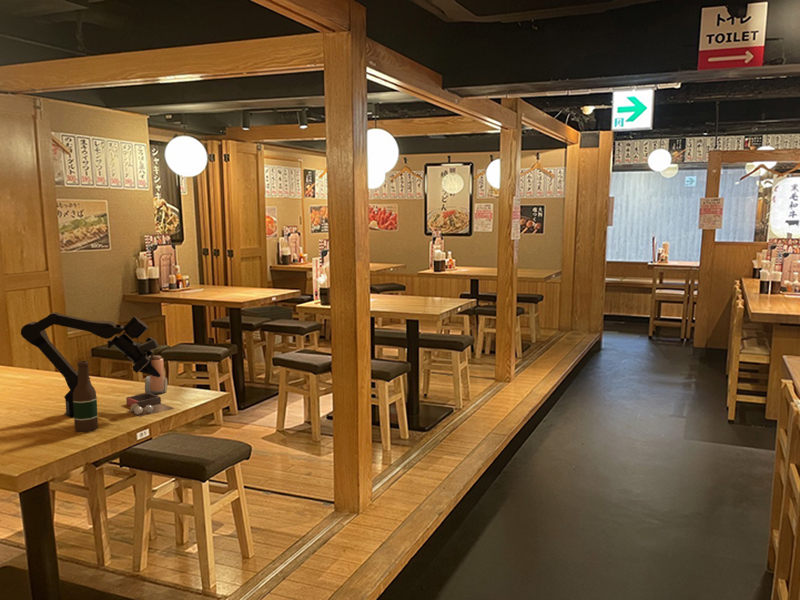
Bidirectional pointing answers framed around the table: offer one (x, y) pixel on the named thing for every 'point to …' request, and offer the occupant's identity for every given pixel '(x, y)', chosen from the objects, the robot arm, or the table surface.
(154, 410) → the board
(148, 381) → the ceramic mug
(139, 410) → the pebble
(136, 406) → the pebble
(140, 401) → the lacquer box
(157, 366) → the canister
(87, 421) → the beer bottle
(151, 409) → the pebble
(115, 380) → the table surface
